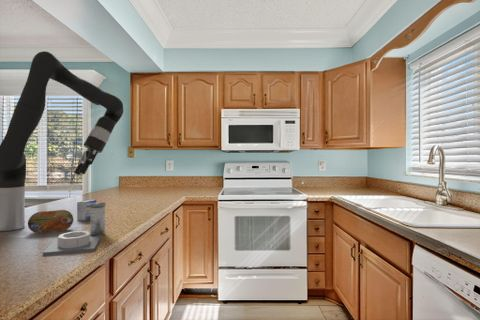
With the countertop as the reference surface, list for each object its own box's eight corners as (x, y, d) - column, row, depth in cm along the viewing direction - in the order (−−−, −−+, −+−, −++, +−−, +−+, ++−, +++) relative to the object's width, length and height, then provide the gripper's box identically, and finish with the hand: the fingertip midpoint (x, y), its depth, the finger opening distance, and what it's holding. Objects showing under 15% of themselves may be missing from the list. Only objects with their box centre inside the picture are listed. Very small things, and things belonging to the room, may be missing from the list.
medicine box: (84, 220, 131) (85, 202, 131) (76, 220, 132) (76, 201, 132) (96, 217, 139) (96, 199, 139) (88, 216, 140) (89, 199, 139)
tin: (27, 234, 108) (27, 212, 108) (29, 232, 110) (29, 211, 110) (73, 230, 115) (73, 209, 114) (73, 228, 117) (73, 208, 117)
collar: (42, 255, 85) (42, 242, 85) (56, 242, 98) (56, 230, 98) (94, 251, 90) (94, 238, 90) (100, 238, 103) (100, 228, 103)
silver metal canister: (88, 236, 105) (88, 204, 105) (91, 233, 111) (91, 202, 110) (104, 235, 107) (104, 204, 107) (106, 232, 112) (106, 202, 112)
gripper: (84, 137, 123) (65, 170, 118) (93, 132, 113) (73, 169, 107) (101, 145, 128) (83, 178, 122) (111, 141, 117) (92, 177, 111)
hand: (78, 173), depth 115 cm, fingers open, 8 cm apart
